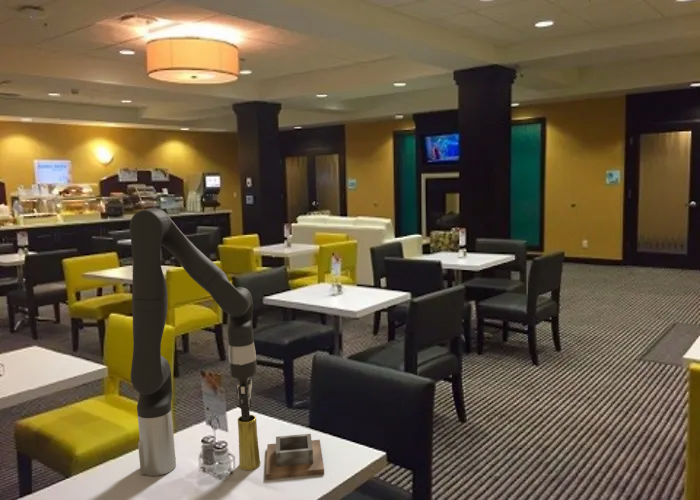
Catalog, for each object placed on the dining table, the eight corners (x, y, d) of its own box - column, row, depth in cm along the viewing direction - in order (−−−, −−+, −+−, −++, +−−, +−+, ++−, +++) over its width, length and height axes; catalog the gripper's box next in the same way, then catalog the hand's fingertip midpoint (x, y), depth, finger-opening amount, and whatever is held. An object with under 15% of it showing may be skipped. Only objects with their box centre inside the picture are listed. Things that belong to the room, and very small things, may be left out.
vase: (249, 472, 166) (246, 424, 164) (234, 466, 169) (231, 419, 167) (264, 463, 171) (262, 417, 168) (250, 457, 174) (247, 412, 172)
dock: (266, 479, 162) (265, 460, 161) (267, 448, 179) (266, 431, 179) (324, 474, 163) (323, 455, 163) (319, 444, 181) (319, 427, 180)
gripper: (231, 352, 172) (235, 404, 174) (226, 368, 158) (231, 425, 160) (256, 349, 173) (260, 402, 175) (254, 365, 159) (259, 422, 161)
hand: (246, 413), depth 168 cm, fingers open, 8 cm apart
